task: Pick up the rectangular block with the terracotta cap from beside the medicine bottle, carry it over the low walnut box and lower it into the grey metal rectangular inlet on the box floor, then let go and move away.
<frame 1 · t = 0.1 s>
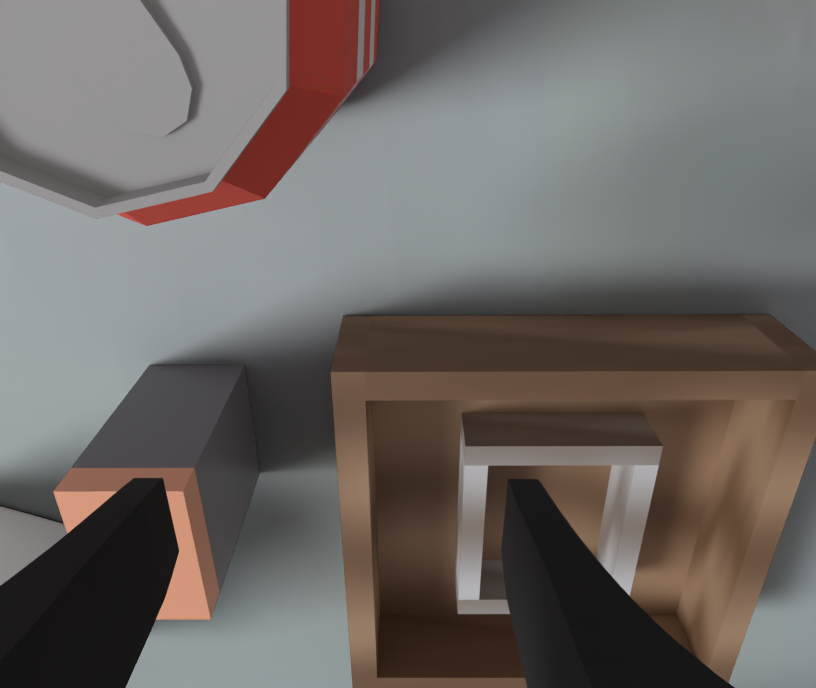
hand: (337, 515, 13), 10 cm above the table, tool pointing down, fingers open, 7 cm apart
rectangular block: (207, 421, 24), on the table
beverage can: (274, 10, 18), on the table
medicine bottle: (21, 563, 28), on the table
walled box: (537, 483, 25), on the table
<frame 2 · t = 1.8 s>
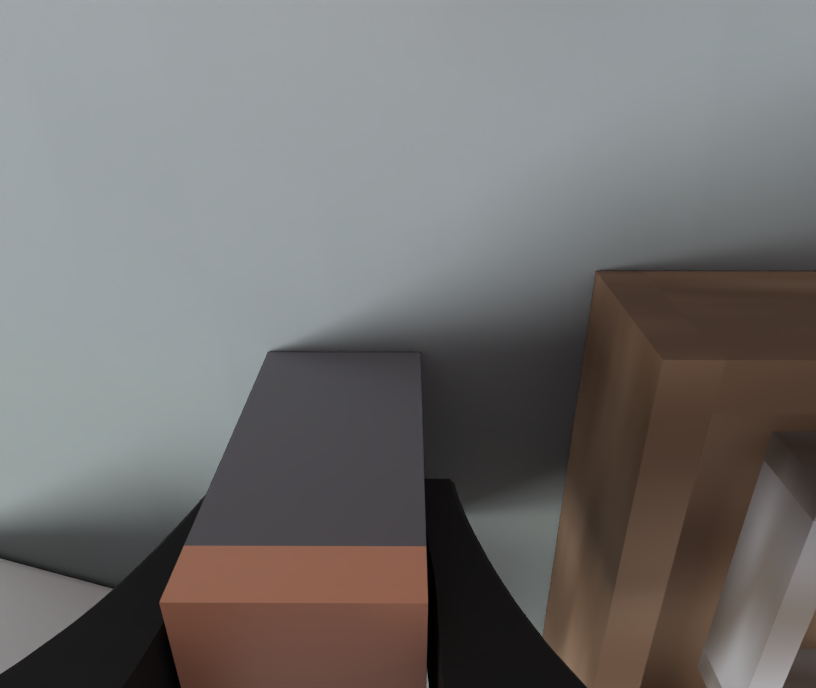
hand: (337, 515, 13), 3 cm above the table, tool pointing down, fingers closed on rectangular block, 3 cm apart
rectangular block: (348, 441, 16), on the table, touching gripper
medicine bottle: (50, 642, 19), on the table
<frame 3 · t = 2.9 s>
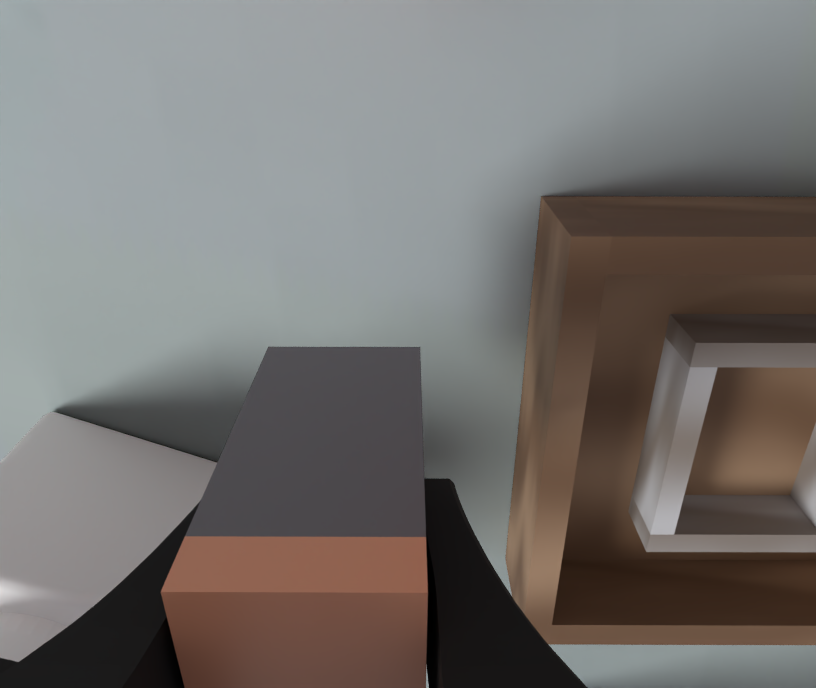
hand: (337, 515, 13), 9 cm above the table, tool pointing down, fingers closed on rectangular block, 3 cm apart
rectangular block: (348, 436, 16), point 6 cm above the table, touching gripper
medicine bottle: (130, 501, 25), on the table
walled box: (730, 405, 22), on the table
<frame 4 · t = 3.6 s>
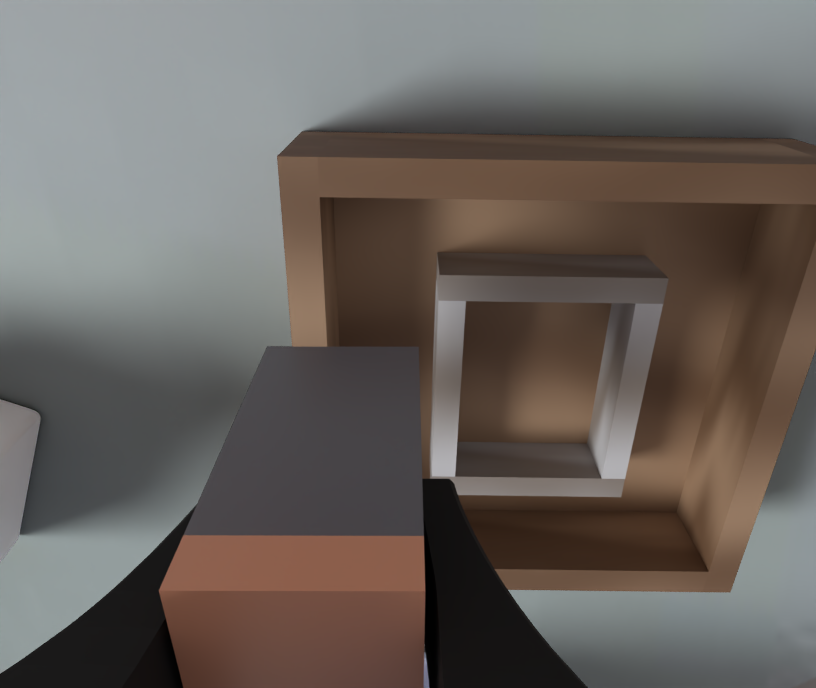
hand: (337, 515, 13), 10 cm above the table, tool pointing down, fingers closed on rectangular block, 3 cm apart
rectangular block: (347, 435, 16), point 7 cm above the table, touching gripper
walled box: (523, 352, 23), on the table
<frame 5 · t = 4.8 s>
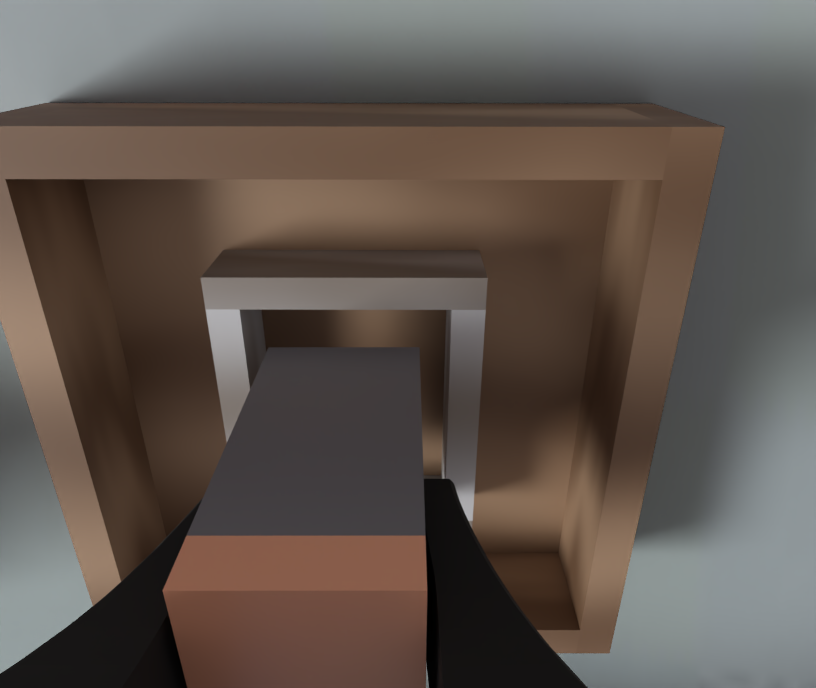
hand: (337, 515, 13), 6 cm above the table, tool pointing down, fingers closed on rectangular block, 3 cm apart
rectangular block: (348, 436, 16), point 4 cm above the table, touching gripper
walled box: (359, 368, 19), on the table
when the fingers open (5 cm above the table, at t = 5.6 s): rectangular block stays where it is, resting on walled box.
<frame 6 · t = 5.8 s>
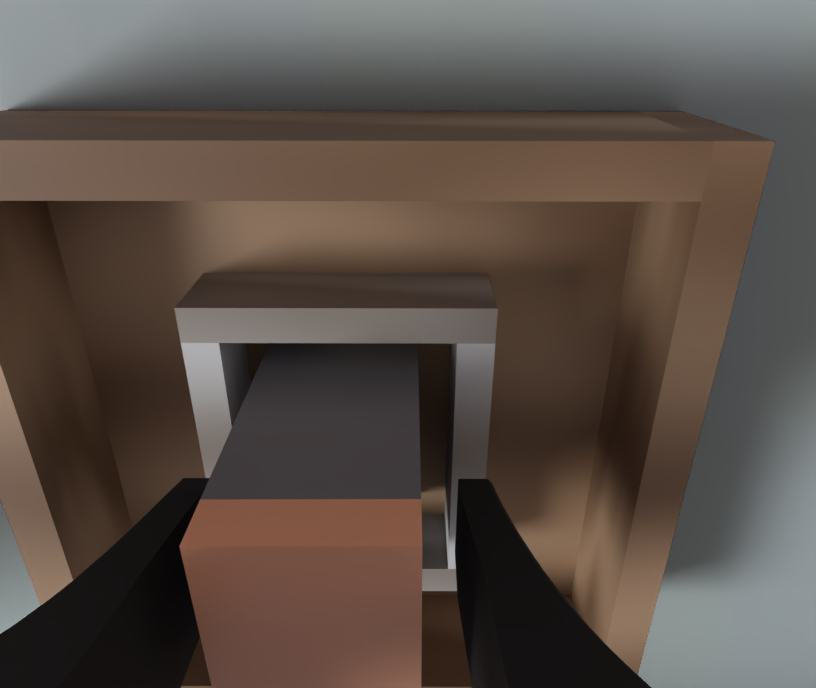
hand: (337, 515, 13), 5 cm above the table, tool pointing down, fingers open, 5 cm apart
rectangular block: (350, 418, 16), point 1 cm above the table, touching walled box
walled box: (355, 398, 17), on the table
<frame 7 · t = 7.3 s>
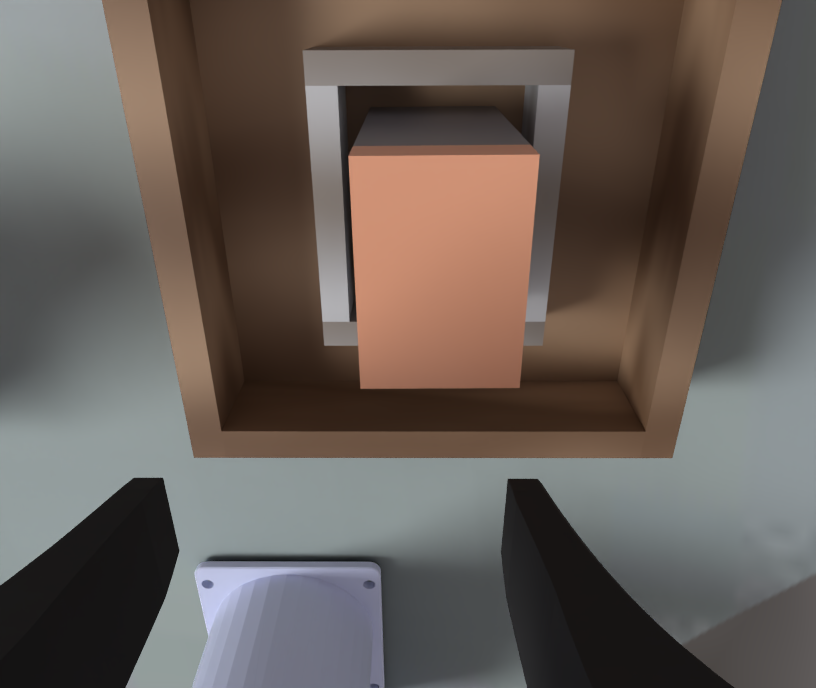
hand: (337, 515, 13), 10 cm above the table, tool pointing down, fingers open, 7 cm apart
rectangular block: (431, 194, 19), point 1 cm above the table, touching walled box
walled box: (432, 187, 20), on the table
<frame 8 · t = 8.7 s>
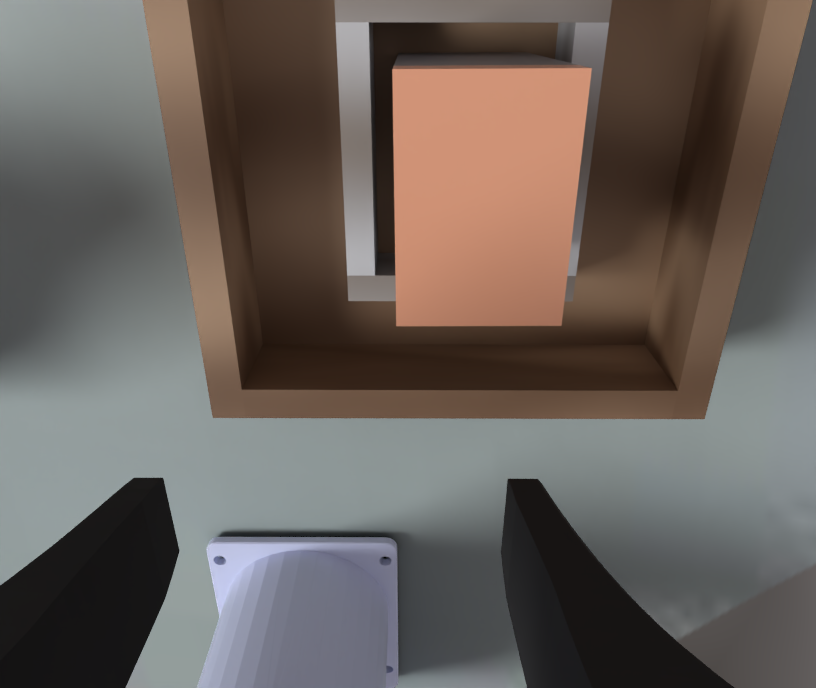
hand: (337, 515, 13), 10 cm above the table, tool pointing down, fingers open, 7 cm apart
rectangular block: (459, 146, 18), point 1 cm above the table, touching walled box
walled box: (458, 141, 19), on the table
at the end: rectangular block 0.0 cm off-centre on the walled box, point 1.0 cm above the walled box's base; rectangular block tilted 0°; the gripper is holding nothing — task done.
